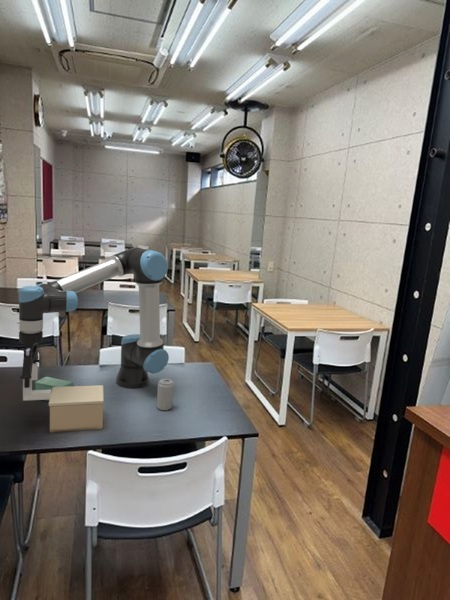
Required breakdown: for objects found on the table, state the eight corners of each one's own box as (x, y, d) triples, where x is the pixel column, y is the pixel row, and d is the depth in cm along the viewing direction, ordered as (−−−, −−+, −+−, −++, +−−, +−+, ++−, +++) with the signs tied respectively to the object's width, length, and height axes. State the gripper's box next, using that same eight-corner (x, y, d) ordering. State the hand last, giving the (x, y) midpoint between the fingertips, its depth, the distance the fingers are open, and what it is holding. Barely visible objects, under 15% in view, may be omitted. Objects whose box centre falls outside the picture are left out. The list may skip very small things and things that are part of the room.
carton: (102, 411, 162) (103, 388, 160) (102, 429, 148) (103, 404, 146) (53, 413, 156) (54, 389, 154) (49, 432, 143) (49, 406, 141)
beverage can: (174, 406, 171) (176, 380, 169) (167, 412, 165) (169, 385, 163) (161, 403, 173) (162, 376, 171) (153, 409, 167) (155, 382, 165)
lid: (103, 387, 160) (103, 381, 159) (103, 403, 146) (103, 397, 146) (27, 390, 151) (27, 384, 151) (20, 407, 138) (20, 400, 138)
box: (63, 404, 164) (63, 387, 163) (34, 398, 167) (34, 382, 166) (73, 397, 171) (73, 380, 170) (45, 392, 174) (45, 375, 173)
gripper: (25, 321, 151) (25, 374, 155) (11, 341, 128) (11, 403, 132) (47, 321, 153) (46, 374, 157) (37, 341, 130) (36, 402, 134)
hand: (30, 387), depth 144 cm, fingers open, 13 cm apart
